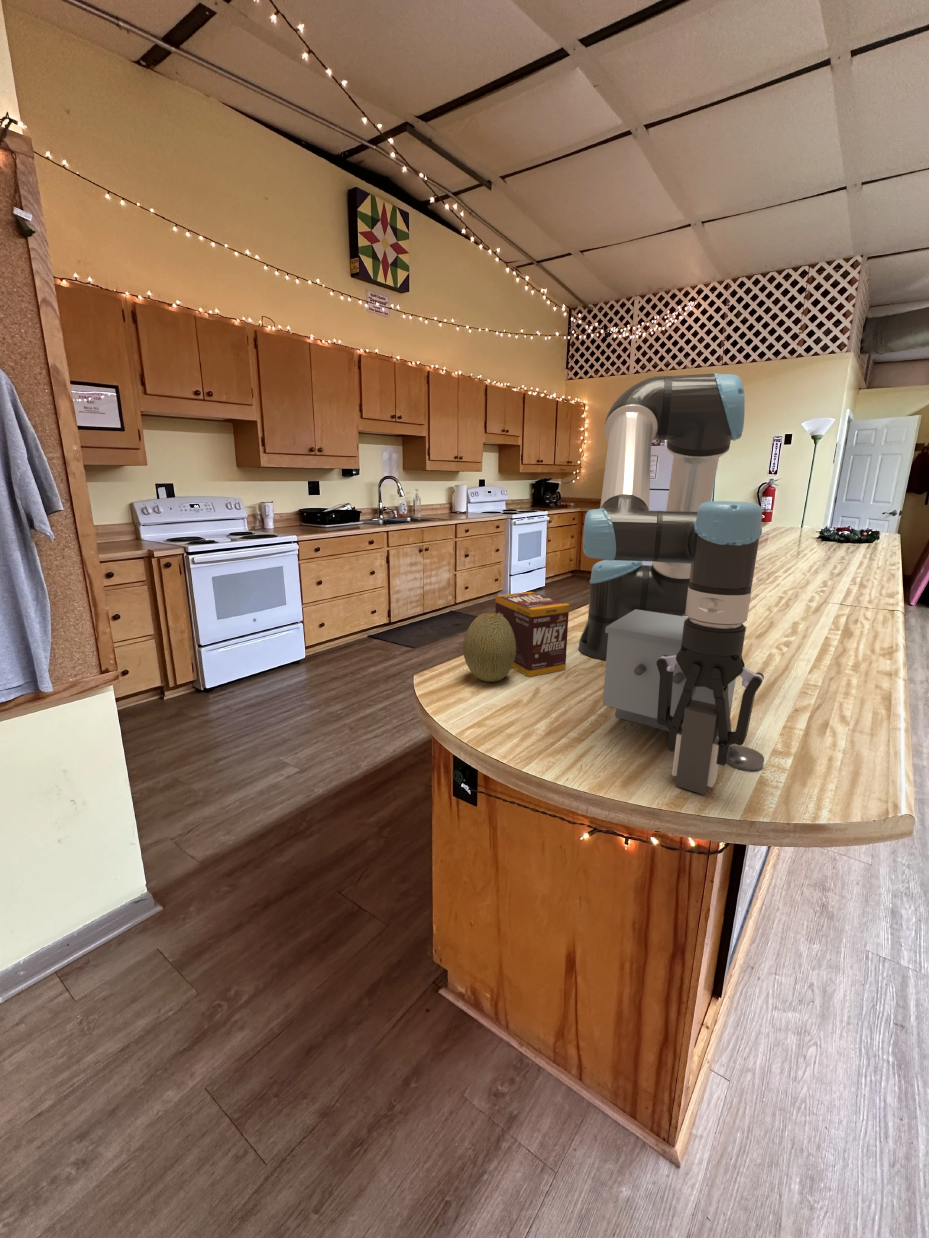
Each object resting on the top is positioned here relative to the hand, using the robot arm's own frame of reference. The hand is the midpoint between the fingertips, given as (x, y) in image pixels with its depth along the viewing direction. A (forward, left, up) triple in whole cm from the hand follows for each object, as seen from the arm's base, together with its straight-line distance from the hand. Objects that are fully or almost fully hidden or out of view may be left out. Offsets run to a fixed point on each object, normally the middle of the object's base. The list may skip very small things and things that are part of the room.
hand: (694, 776), depth 78 cm
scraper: (0, +6, -1) cm, 7 cm away
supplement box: (-44, +31, -2) cm, 54 cm away
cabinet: (-8, +15, -1) cm, 18 cm away
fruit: (-46, +17, -2) cm, 50 cm away
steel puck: (+5, +12, -2) cm, 13 cm away
